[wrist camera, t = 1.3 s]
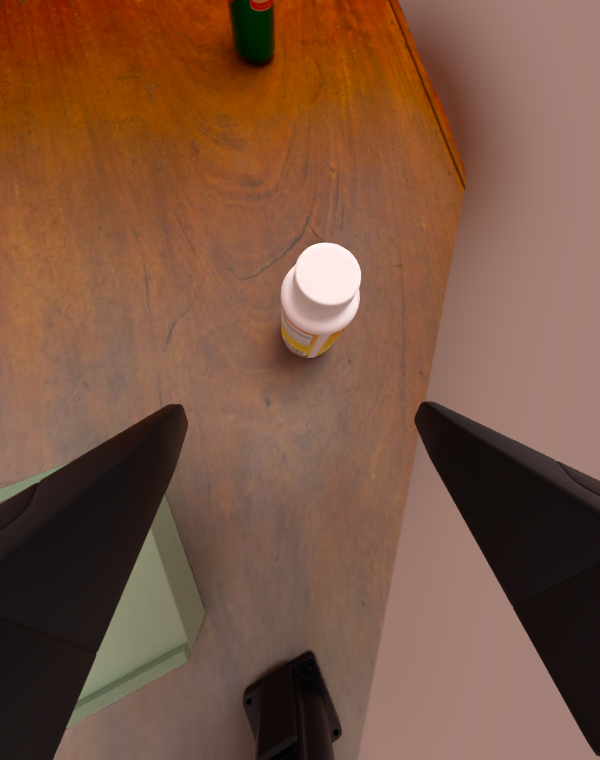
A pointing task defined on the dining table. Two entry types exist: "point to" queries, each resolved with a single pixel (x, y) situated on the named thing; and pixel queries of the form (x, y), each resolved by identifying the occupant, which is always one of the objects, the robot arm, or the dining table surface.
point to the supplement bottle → (319, 299)
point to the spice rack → (141, 616)
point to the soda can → (253, 29)
